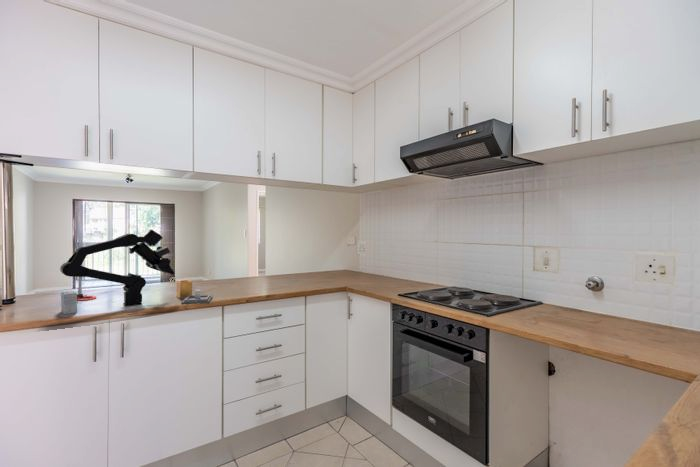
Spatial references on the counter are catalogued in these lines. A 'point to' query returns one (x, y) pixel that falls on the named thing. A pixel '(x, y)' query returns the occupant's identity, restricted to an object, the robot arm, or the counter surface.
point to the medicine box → (69, 302)
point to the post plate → (197, 298)
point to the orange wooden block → (184, 288)
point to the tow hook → (80, 295)
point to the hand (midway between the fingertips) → (170, 273)
